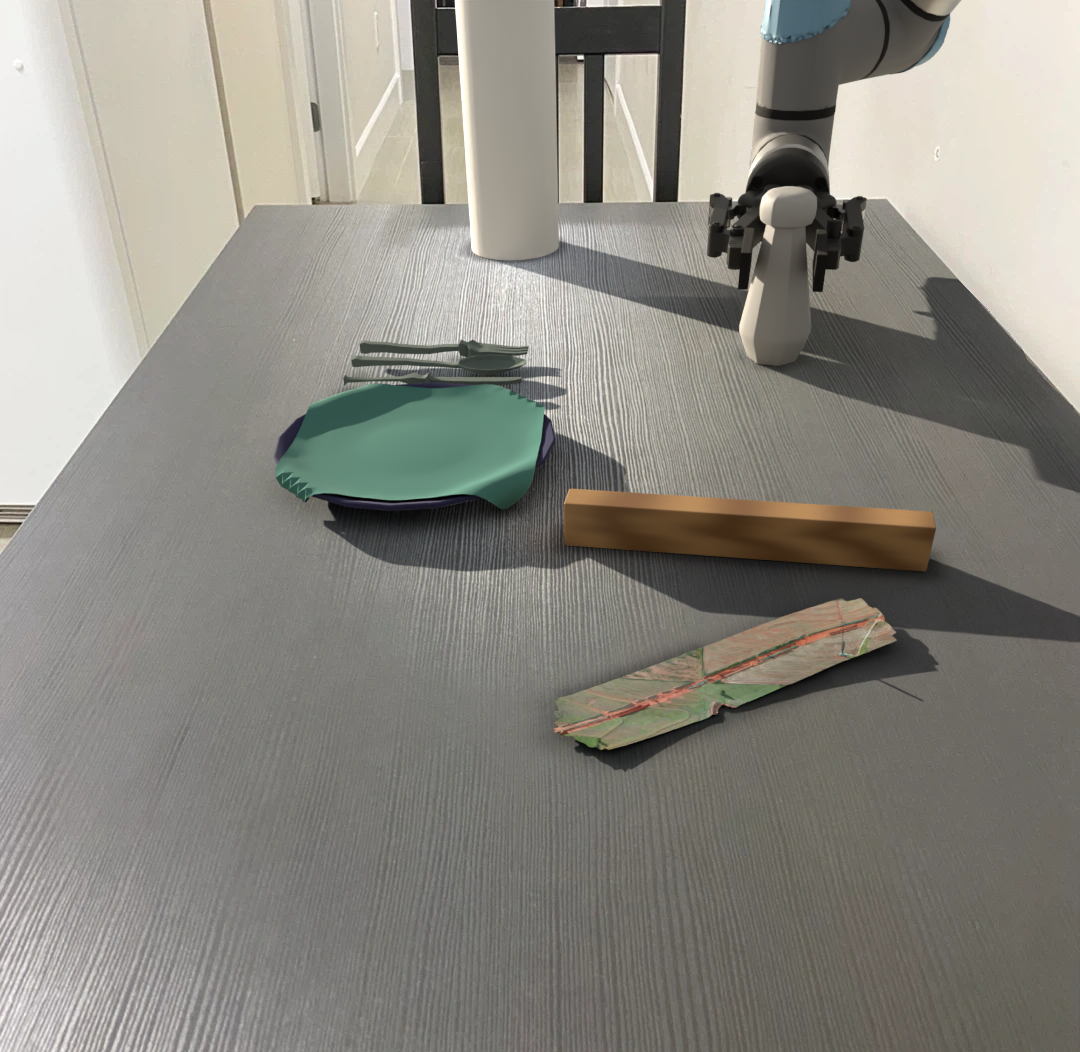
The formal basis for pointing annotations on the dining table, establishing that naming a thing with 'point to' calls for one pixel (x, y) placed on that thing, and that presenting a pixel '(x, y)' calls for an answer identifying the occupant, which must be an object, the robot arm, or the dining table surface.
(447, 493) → the cutlery set
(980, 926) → the dining table surface
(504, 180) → the cylinder container
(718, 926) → the dining table surface
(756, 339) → the salt shaker
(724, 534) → the long wooden block
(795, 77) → the robot arm
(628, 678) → the map
